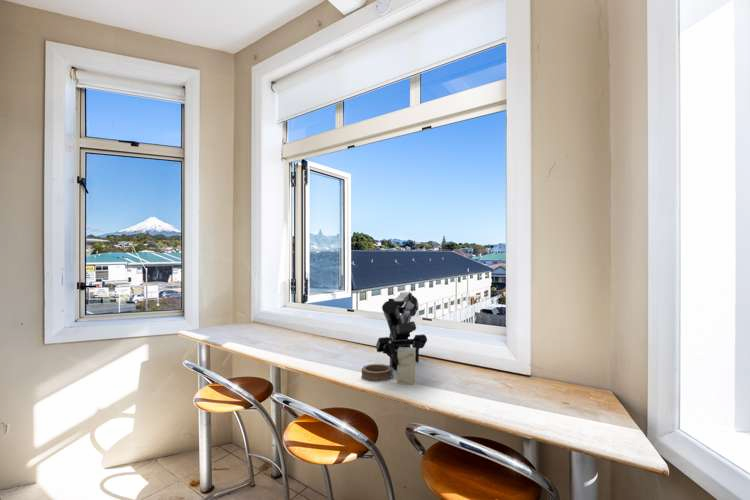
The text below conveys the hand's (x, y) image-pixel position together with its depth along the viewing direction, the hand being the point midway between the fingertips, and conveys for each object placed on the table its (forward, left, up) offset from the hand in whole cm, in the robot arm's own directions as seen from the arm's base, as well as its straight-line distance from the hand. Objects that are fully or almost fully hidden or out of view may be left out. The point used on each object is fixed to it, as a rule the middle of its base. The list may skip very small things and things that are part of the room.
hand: (408, 363), depth 131 cm
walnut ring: (+7, -12, -7) cm, 16 cm away
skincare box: (0, -1, -7) cm, 7 cm away
